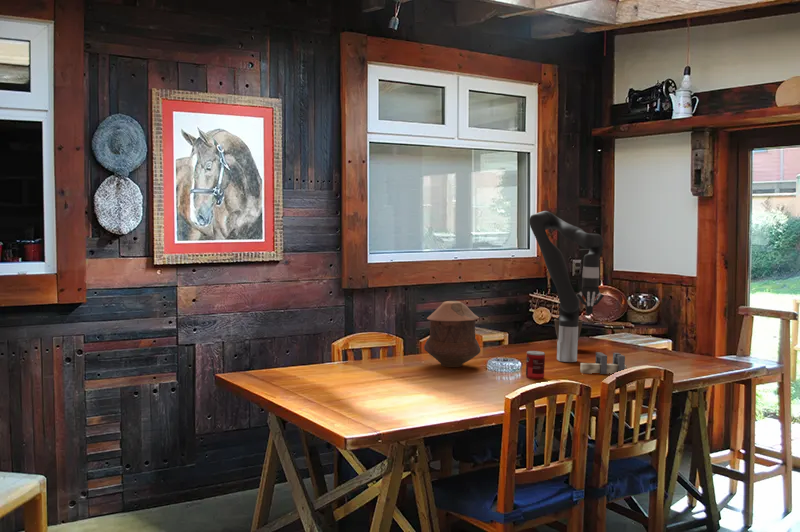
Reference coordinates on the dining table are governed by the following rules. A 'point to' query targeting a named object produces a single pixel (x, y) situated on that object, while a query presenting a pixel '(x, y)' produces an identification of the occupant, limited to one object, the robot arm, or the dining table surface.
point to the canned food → (535, 364)
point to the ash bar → (598, 368)
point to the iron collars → (617, 359)
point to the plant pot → (558, 327)
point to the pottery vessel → (452, 334)
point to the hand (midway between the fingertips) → (589, 314)
